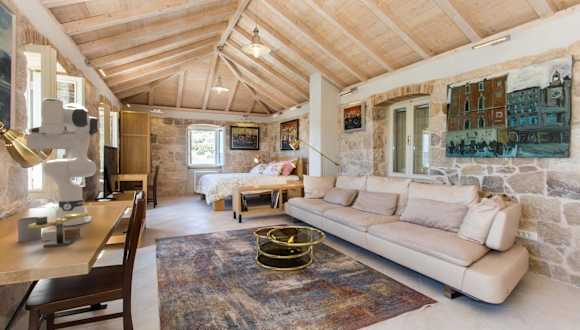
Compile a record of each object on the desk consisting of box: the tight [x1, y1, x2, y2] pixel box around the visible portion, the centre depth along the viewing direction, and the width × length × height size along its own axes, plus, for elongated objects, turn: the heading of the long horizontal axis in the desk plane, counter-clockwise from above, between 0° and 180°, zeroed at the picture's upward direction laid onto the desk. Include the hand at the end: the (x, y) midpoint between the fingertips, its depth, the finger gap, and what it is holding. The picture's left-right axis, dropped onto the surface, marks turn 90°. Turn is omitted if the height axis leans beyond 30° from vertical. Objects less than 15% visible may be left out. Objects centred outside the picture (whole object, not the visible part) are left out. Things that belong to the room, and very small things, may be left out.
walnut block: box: [63, 226, 81, 240], centre depth 140 cm, size 5×5×5 cm
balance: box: [28, 212, 90, 249], centre depth 130 cm, size 9×22×14 cm, turn 110°
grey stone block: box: [41, 228, 57, 242], centre depth 138 cm, size 5×5×4 cm
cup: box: [17, 216, 42, 242], centre depth 138 cm, size 8×8×10 cm
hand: (53, 158), depth 139 cm, fingers open, 8 cm apart
